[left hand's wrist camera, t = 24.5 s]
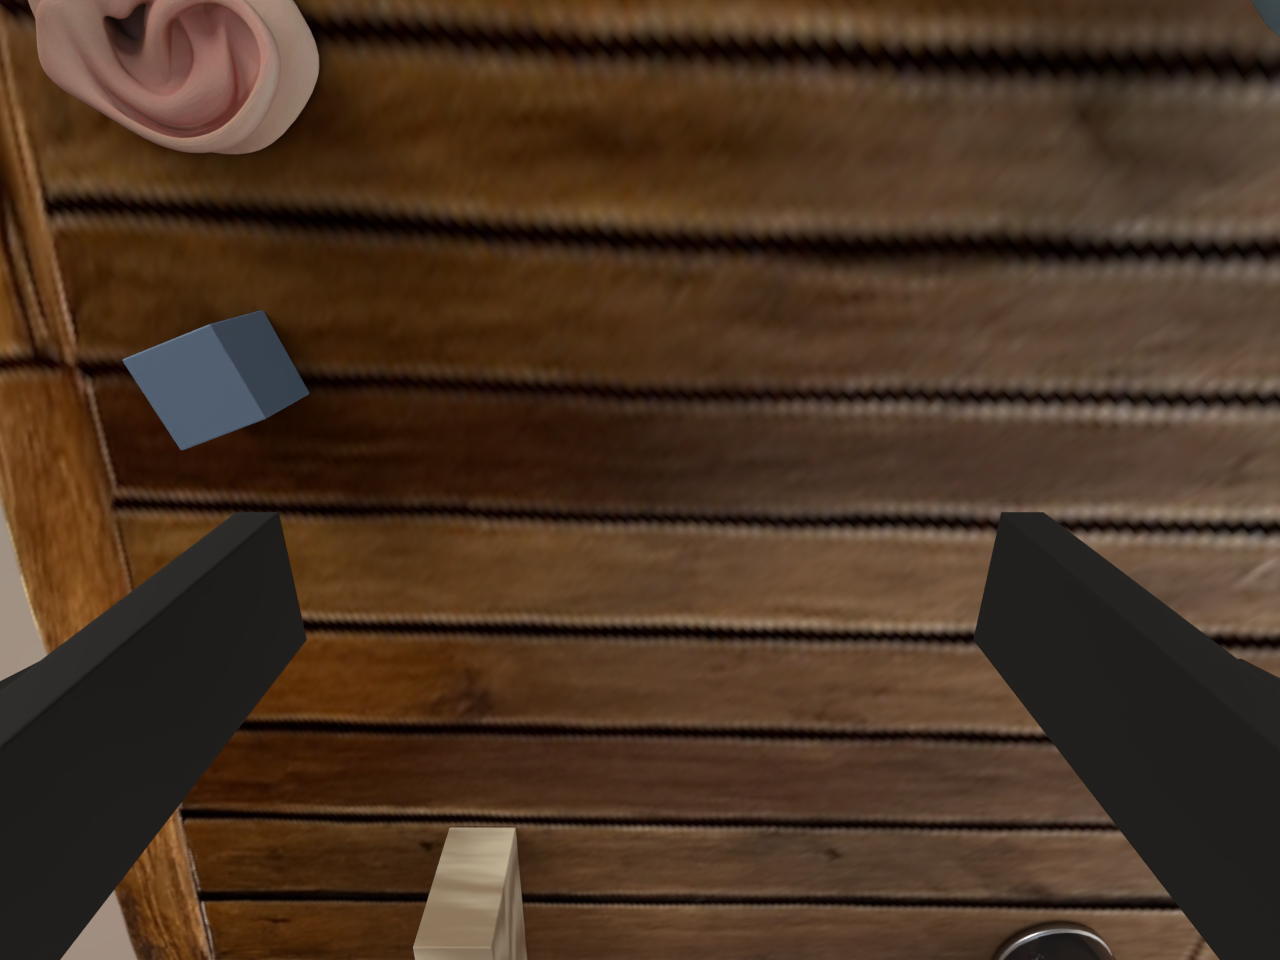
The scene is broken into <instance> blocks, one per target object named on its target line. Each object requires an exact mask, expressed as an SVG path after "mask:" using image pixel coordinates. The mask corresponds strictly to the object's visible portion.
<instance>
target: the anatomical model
mask: <svg viewBox="0 0 1280 960" xmlns="http://www.w3.org/2000/svg"><path fill="white" fill-rule="evenodd" d="M28 1H29V4H30V7H31V9H32V12H33V14H34V16H35V19H36V31H37V48H38V55H39V59H40V62H41V65H42V67H43V69H44V71H45V72H46V74H47V75H48V76H49V77H50V79H51V80H52V81H53V82H54V83H56V84H57V85H58V86H59V87H60V88H62V89H63V90H65V91H66V92H68V93H69V94H71V95H72V96H74V97H76V98H77V99H79V100H81V101H83V102H84V103H86V104H88V105H89V106H91V107H93V108H95V109H96V110H98V111H100V112H101V113H103V114H104V115H106V116H108V117H109V118H111V119H113V120H114V121H116V122H117V123H119V124H121V125H122V126H124V127H125V128H127V129H129V130H130V131H132V132H134V133H136V134H138V135H140V136H141V137H143V138H145V139H147V140H149V141H151V142H153V143H156V144H158V145H161V146H163V147H166V148H170V149H173V150H177V151H182V152H188V153H207V152H214V153H222V154H244V153H251V152H254V151H258V150H261V149H263V148H265V147H267V146H269V145H270V144H272V143H273V142H274V141H275V140H277V139H278V138H279V137H280V136H281V135H283V134H284V132H285V131H286V130H287V129H288V128H289V127H290V125H291V124H292V123H293V122H294V121H295V120H296V118H297V117H298V115H299V114H300V113H301V111H302V110H303V108H304V107H305V105H306V103H307V101H308V99H309V98H310V96H311V94H312V92H313V89H314V87H315V84H316V81H317V77H318V72H319V55H318V50H317V46H316V43H315V40H314V38H313V35H312V33H311V31H310V29H309V27H308V25H307V23H306V21H305V20H304V18H303V16H302V14H301V13H300V11H299V9H298V7H297V6H296V4H295V3H294V1H293V0H28Z"/></svg>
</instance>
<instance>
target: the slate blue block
mask: <svg viewBox="0 0 1280 960" xmlns="http://www.w3.org/2000/svg"><path fill="white" fill-rule="evenodd" d="M123 362H124V364H125V365H126V367H127V368H128V370H129V371H130V373H131V375H132V376H133V378H134V379H135V381H136V382H137V384H138V385H139V387H140V388H141V390H142V391H143V393H144V394H145V396H146V397H147V399H148V401H149V402H150V404H151V405H152V407H153V408H154V410H155V411H156V413H157V414H158V416H159V417H160V419H161V420H162V422H163V423H164V425H165V427H166V428H167V430H168V431H169V433H170V434H171V436H172V437H173V439H174V440H175V442H176V443H177V445H178V446H179V448H180V449H181V450H185V449H187V448H190V447H193V446H195V445H198V444H201V443H203V442H206V441H209V440H211V439H214V438H216V437H219V436H222V435H224V434H227V433H230V432H232V431H235V430H238V429H240V428H243V427H246V426H248V425H251V424H254V423H256V422H259V421H261V420H264V419H266V418H268V417H270V416H271V415H273V414H275V413H277V412H279V411H280V410H282V409H284V408H286V407H287V406H289V405H291V404H293V403H294V402H296V401H298V400H300V399H301V398H303V397H305V396H307V395H308V394H309V391H308V390H307V388H306V386H305V384H304V383H303V381H302V379H301V377H300V375H299V374H298V372H297V370H296V368H295V366H294V365H293V363H292V361H291V359H290V357H289V356H288V354H287V352H286V350H285V349H284V347H283V345H282V343H281V341H280V340H279V338H278V336H277V334H276V332H275V331H274V329H273V327H272V325H271V324H270V322H269V320H268V318H267V316H266V315H265V313H264V311H263V310H261V311H257V312H253V313H250V314H246V315H242V316H239V317H235V318H231V319H228V320H224V321H220V322H217V323H213V324H209V325H207V326H204V327H202V328H199V329H197V330H194V331H192V332H189V333H187V334H184V335H182V336H179V337H177V338H174V339H172V340H169V341H167V342H165V343H162V344H160V345H157V346H155V347H152V348H150V349H147V350H145V351H142V352H140V353H137V354H135V355H132V356H130V357H127V358H125V359H123Z"/></svg>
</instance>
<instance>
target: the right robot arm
mask: <svg viewBox="0 0 1280 960" xmlns="http://www.w3.org/2000/svg"><path fill="white" fill-rule="evenodd" d="M993 960H1116V959H1115V958H1114V957H1113V956H1112V954H1111V952H1110V950H1109V948H1108V947H1107V945H1106V943H1105V942H1104V940H1103V939H1102V938H1101V936H1100V935H1099V934H1097V933H1096V932H1095V931H1093V930H1091V929H1089V928H1087V927H1084V926H1081V925H1077V924H1070V923H1053V924H1046V925H1041V926H1037V927H1034V928H1031V929H1028V930H1026V931H1023V932H1021V933H1019V934H1017V935H1016V936H1014V937H1013V938H1011V939H1010V940H1008V941H1007V942H1006V943H1005V944H1004V945H1003V946H1002V947H1001V948H1000V949H999V950H998V952H997V953H996V955H995V957H994V959H993Z"/></svg>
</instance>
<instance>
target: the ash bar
mask: <svg viewBox="0 0 1280 960" xmlns="http://www.w3.org/2000/svg"><path fill="white" fill-rule="evenodd" d="M413 949H414V955H415V960H527V950H526V939H525V928H524V917H523V906H522V895H521V883H520V872H519V861H518V850H517V839H516V829H515V828H449V832H448V835H447V838H446V841H445V845H444V848H443V851H442V855H441V858H440V861H439V864H438V868H437V871H436V874H435V877H434V881H433V884H432V887H431V891H430V894H429V897H428V900H427V904H426V907H425V910H424V913H423V917H422V920H421V923H420V927H419V930H418V933H417V936H416V940H415V943H414V946H413Z"/></svg>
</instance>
